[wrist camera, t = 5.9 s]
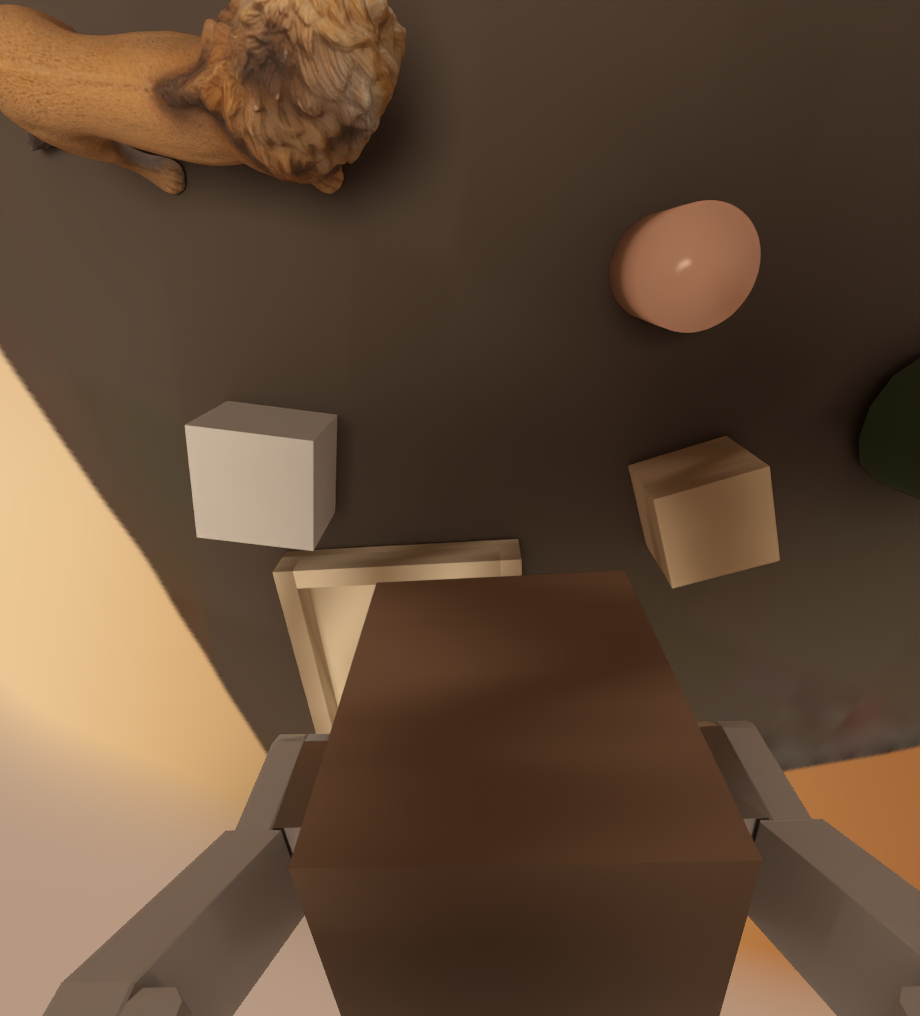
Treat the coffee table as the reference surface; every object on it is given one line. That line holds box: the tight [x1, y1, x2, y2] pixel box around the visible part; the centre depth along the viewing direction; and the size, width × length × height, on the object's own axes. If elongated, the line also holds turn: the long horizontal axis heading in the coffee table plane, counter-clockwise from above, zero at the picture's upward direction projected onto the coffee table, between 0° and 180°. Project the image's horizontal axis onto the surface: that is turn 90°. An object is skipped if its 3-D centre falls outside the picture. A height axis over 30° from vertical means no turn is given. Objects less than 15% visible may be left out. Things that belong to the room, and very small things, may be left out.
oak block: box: [628, 436, 780, 589], centre depth 23 cm, size 4×4×4 cm
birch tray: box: [272, 539, 522, 734], centre depth 28 cm, size 12×12×2 cm
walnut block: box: [288, 570, 763, 1016], centre depth 8 cm, size 4×4×5 cm
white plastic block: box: [185, 401, 337, 551], centre depth 23 cm, size 5×5×4 cm
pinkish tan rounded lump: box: [609, 200, 761, 333], centre depth 19 cm, size 4×4×4 cm
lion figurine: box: [0, 0, 406, 194], centre depth 15 cm, size 15×5×9 cm, turn 96°
